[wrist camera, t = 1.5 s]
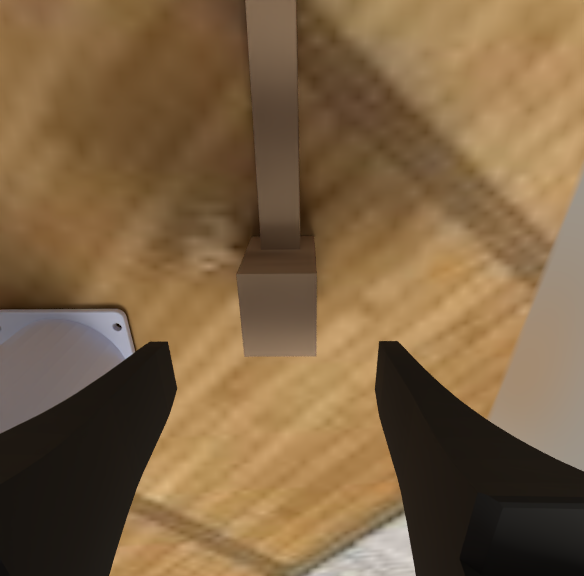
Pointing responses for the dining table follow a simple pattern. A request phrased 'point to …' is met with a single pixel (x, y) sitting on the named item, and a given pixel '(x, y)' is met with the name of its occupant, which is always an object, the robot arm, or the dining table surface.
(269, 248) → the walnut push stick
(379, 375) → the robot arm
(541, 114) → the dining table surface
